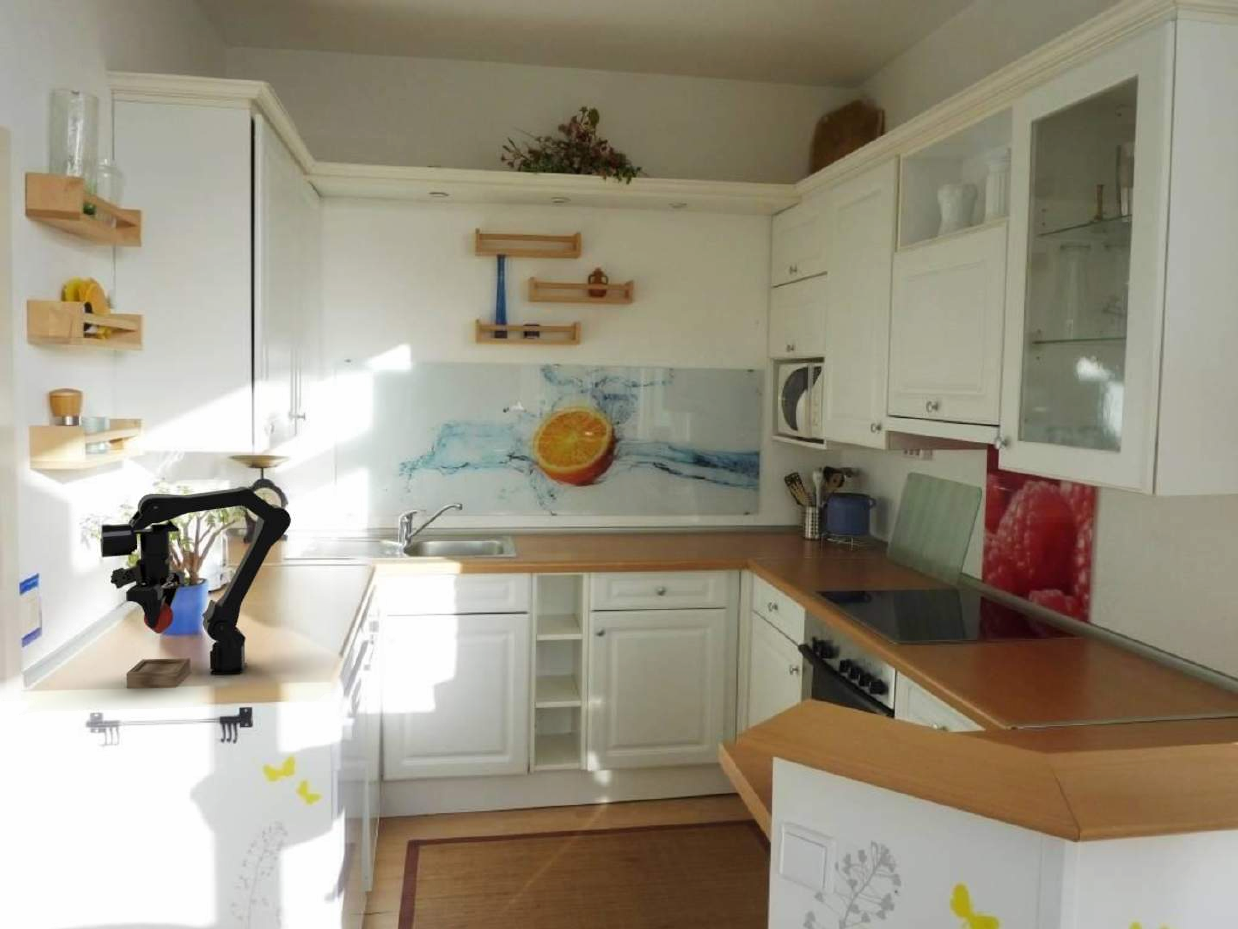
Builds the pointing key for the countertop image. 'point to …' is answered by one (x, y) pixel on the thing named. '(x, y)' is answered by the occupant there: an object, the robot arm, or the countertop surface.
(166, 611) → the onion
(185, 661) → the brown wooden tray
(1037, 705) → the countertop surface
